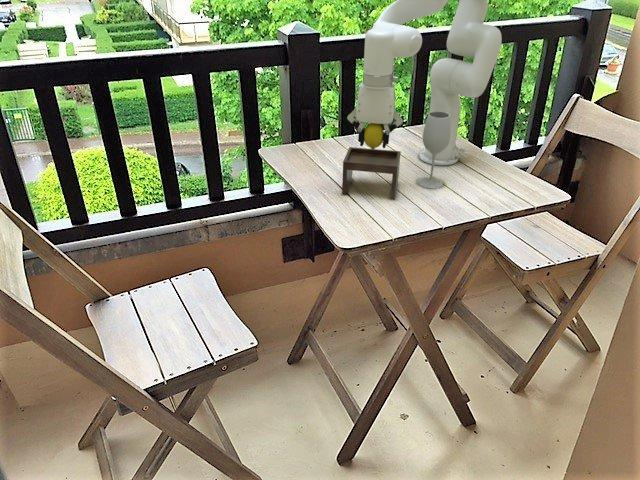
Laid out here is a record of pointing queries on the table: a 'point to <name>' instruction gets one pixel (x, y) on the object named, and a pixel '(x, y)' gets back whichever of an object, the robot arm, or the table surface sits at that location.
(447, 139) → the wineglass
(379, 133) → the lemon
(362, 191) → the table surface
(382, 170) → the shelf
